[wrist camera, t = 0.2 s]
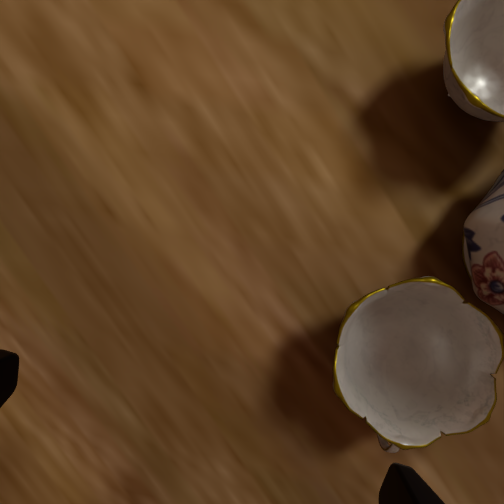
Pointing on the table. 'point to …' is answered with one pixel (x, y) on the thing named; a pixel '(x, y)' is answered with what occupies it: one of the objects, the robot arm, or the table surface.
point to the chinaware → (437, 288)
